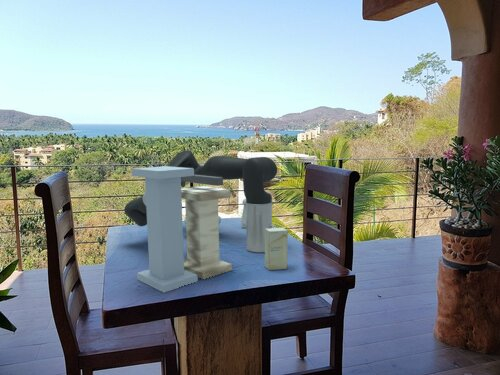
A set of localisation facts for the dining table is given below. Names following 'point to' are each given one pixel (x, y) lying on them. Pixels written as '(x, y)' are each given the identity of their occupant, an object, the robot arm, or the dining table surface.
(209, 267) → the marble stand
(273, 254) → the skincare box
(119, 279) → the dining table surface
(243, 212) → the salt shaker
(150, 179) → the tall stand
